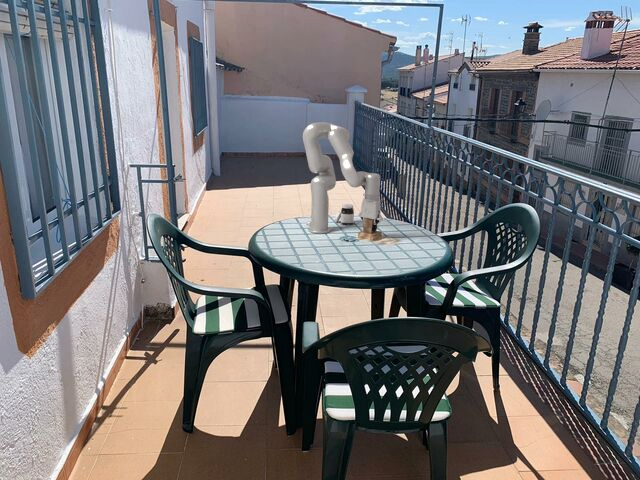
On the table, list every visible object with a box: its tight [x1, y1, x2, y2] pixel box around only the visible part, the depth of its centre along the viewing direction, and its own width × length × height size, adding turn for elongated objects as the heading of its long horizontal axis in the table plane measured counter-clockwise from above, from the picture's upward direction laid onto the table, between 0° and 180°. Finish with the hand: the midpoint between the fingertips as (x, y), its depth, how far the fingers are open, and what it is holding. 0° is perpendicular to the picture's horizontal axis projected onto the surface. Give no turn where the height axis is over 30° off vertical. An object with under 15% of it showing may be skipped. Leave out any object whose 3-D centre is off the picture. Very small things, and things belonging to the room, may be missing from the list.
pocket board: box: [354, 230, 404, 247], centre depth 269 cm, size 22×14×4 cm, turn 52°
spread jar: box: [334, 203, 355, 226], centre depth 303 cm, size 12×11×12 cm
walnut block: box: [362, 218, 377, 234], centre depth 271 cm, size 5×5×10 cm
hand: (369, 229), depth 271 cm, fingers closed on walnut block, 5 cm apart
